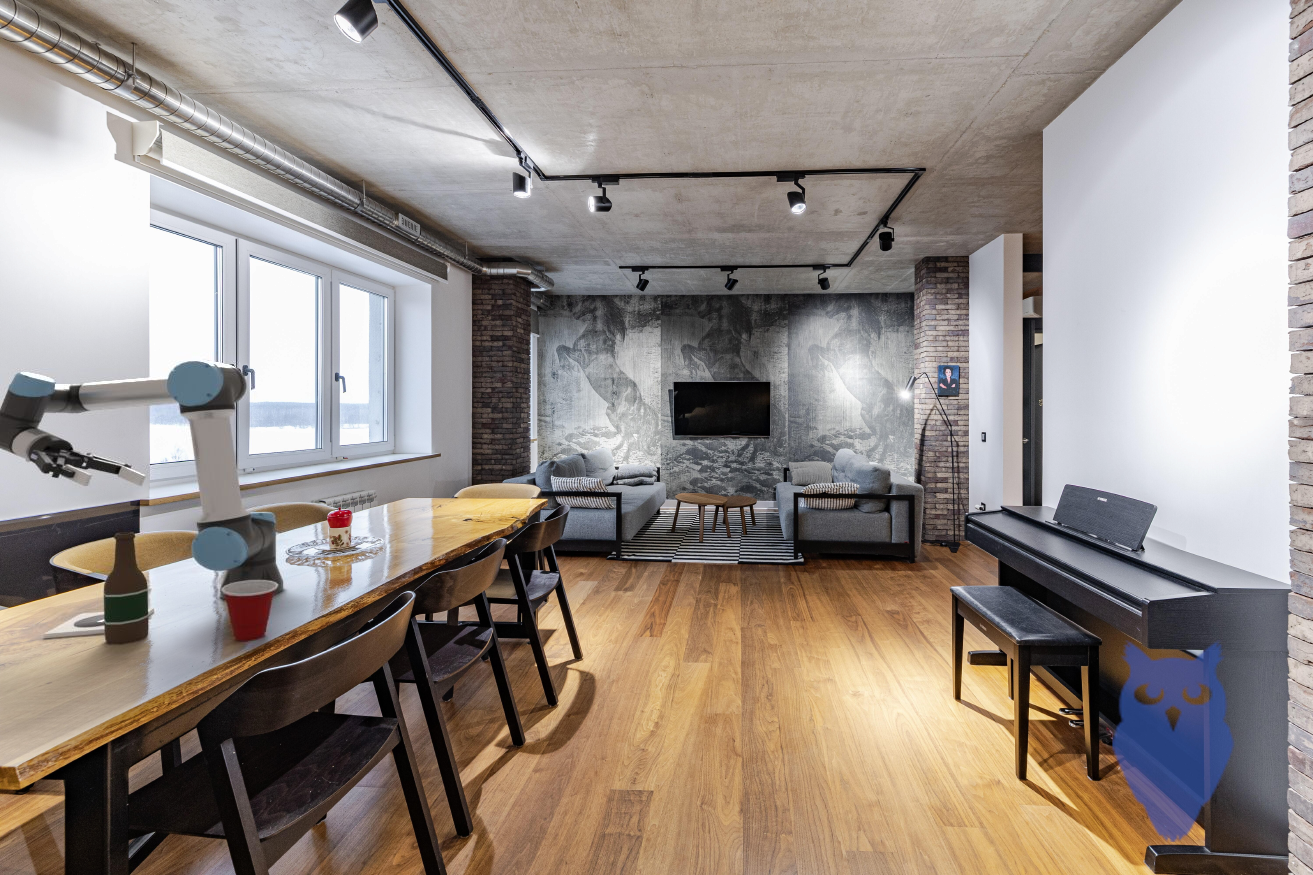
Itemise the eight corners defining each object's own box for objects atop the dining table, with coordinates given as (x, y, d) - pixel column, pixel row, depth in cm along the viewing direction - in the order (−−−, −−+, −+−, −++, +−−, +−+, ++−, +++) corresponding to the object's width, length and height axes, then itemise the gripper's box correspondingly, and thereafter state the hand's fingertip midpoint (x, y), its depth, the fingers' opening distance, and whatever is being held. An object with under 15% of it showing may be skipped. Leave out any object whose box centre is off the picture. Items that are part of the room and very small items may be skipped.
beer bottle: (157, 634, 142) (155, 531, 141) (118, 646, 134) (116, 537, 134) (134, 630, 144) (132, 528, 143) (95, 642, 137) (92, 534, 136)
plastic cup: (251, 647, 135) (250, 593, 134) (209, 643, 137) (208, 589, 136) (290, 630, 145) (289, 580, 145) (251, 627, 148) (250, 577, 147)
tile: (154, 611, 158) (154, 607, 158) (125, 631, 144) (125, 626, 144) (81, 617, 153) (80, 612, 153) (43, 638, 139) (43, 633, 139)
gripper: (89, 465, 163) (157, 494, 161) (-23, 461, 138) (55, 496, 136) (100, 438, 163) (168, 467, 161) (-9, 430, 139) (69, 464, 136)
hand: (116, 480), depth 149 cm, fingers open, 13 cm apart
